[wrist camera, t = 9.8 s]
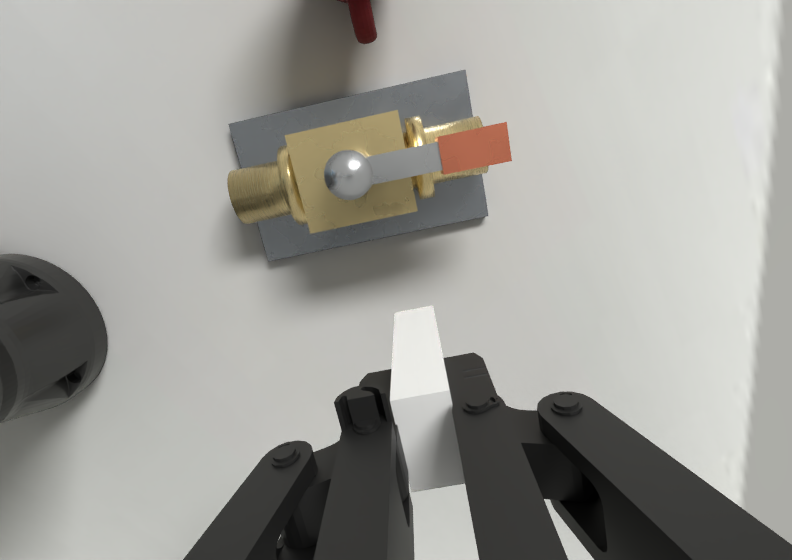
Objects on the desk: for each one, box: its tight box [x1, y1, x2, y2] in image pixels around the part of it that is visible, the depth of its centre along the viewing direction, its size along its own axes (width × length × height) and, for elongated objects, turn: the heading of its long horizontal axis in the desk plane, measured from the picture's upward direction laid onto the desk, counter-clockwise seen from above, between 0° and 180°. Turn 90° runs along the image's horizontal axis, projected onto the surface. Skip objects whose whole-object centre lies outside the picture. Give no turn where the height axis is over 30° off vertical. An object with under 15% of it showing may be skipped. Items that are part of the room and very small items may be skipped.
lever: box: [324, 122, 512, 200], centre depth 30 cm, size 12×3×3 cm, turn 102°
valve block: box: [228, 70, 488, 261], centre depth 36 cm, size 20×12×8 cm, turn 102°
